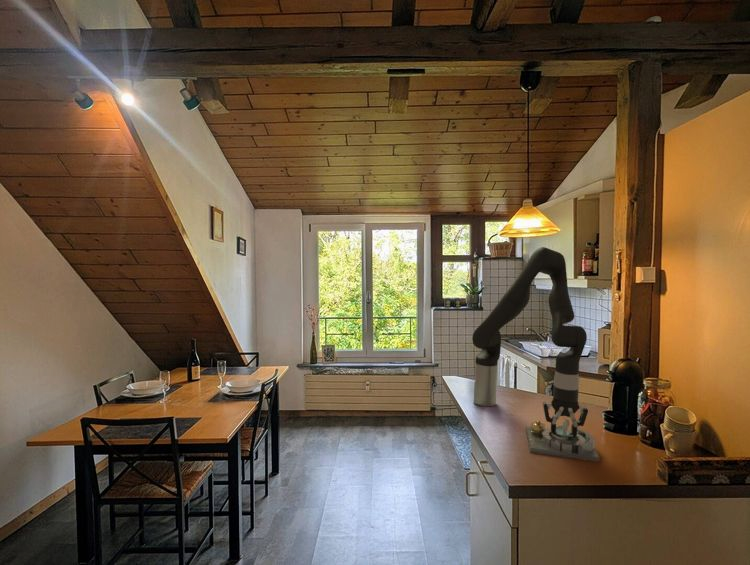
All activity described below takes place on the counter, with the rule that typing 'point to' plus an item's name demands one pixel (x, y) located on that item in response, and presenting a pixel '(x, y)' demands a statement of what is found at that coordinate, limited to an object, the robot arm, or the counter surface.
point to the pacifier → (563, 431)
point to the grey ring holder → (561, 443)
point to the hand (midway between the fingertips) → (563, 435)
